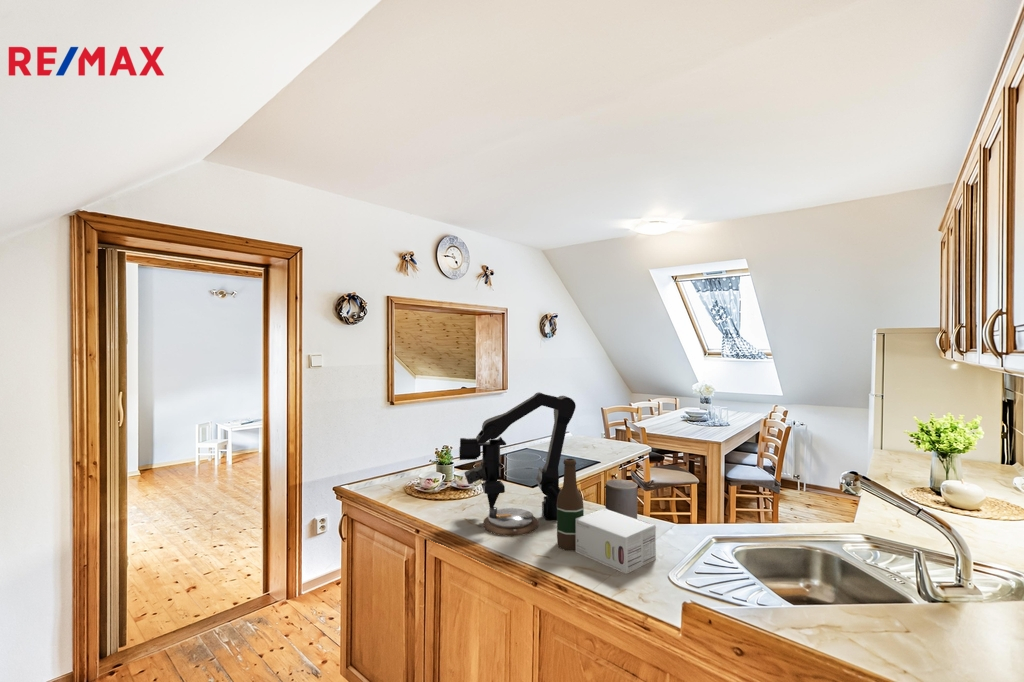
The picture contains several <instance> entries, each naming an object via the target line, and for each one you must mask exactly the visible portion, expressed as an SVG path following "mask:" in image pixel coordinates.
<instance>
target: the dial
mask: <svg viewBox="0 0 1024 682" xmlns="http://www.w3.org/2000/svg"><path fill="white" fill-rule="evenodd" d="M533 516H534V514H533V513H532V512H531V511H529V510H526V509H523V508H514V507H509V508H507V507H506V508H499V509H498V507H496V506H494V507H489V514H488V515H487V517H488V522H489V523H490V524H491V525H493V526H495V527H499V528H506V529H515V528H522V527H526V526H529V525H530V524H532V523H533Z"/></svg>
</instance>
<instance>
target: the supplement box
mask: <svg viewBox="0 0 1024 682" xmlns="http://www.w3.org/2000/svg"><path fill="white" fill-rule="evenodd" d="M656 528H657V525H656V524H653V523H649V522H647V521H644V520H641V519H638V518H637V519H635V518H632V517H629V516H626V515H623V514H620V513H617V512H614V511H611V510H608V509H606V508H601V509H598V510H597V511H594V512H591V513H587V514H585V515H584V516H581V517H578V518H576V551H574V552H575V553H577V554H579V555H582V556H583V557H586V558H589V559H591V560H593V561H596V562H597V563H600V564H603V565H604V566H607V567H610V568H611V569H614V570H617V571H619V572H621V573H623V574H625V575H626V574H629V573H631V572H632V571H635V570H637V569H639V568H641V567H643V566H645V565H647V564H649V563H651V562H653V561H655V560H656V559H657V557H656V556H657V553H656V552H657V549H656V547H657V544H656V543H657V542H656V540H657V539H656V537H657V535H656V534H657V533H656V531H657V529H656Z"/></svg>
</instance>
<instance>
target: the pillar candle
mask: <svg viewBox="0 0 1024 682" xmlns="http://www.w3.org/2000/svg"><path fill="white" fill-rule="evenodd" d="M638 486H639V485H638V483H636V482H634V481H632V480H627V479H622V478H620V479H617V478H616V479H615V478H614V479H609V480H607V481H606V482H605V493H604V495H605V501H604V502H605V505H604V506H605V508H604V509H608V510H611V511H614V512H617V513H620V514H623V515H626V516H629V517H632V518H635V519H638Z"/></svg>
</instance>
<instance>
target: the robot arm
mask: <svg viewBox="0 0 1024 682" xmlns="http://www.w3.org/2000/svg"><path fill="white" fill-rule="evenodd" d="M542 406H543V407H546V408H549V409H553V421H554V423H553V427H552V430H551V431H552V432H551V437H550V440H549V446H548V451H547V456H546V460H545V464H544V466H543V467H542V468H541V467H538V469H537V470H538V471H537V476H536V478H535V479H536V481H537V487H538V488H539V490H540V491H541V492H542V494H543V495H545V496H543V501H542V502H541V514H542V516H543V517H544V519H545V520H546V521H557V497H558V495H559V492H560V491H561V489H562V488H560V487H559V486H560V475H559V467H560V460H561V456H562V451H563V447H564V442H565V436H566V432H567V427H568V425H569V423H570V422H571V420H572V418H573V416H574V413H575V411H576V406H577V405H576V402H575V400H574V399H572V398H570V397H569V396H566V395H559V396H555V395H551V394H550V395H549V394H545V393H543V392H539V391H538V392H536V393H534V395H532V396H531V397H528V399H526V400H523V401H522V402H520V403H519V404H517V405H516V406H514V407H513V408H511V409H509V410H507V411H506V412H504V413H502V414H498V415H495V416H493V417H492V416H491V417H489V418H487V419H485V420H484V421H483V422H482V424H481V430H480V431H479V432H478V434H477V435H476V438H475V437H473V438H471V437H470V438H466V437H460V439H459V448H458V449H459V450H458V451H459V452H458V454H459V455H458V456H459V461H472V460H473V461H474V460H478V459H479V457H482V460H481V462H480V465H479V466H476V467H473V468H470V469H469V470H465V471H464V476H465V478H466V479H465V480H466V483H467V484H468V485H472V484H473V483H475V482H479V481H482V483H481V484H480V485H481V488H482V490H483V493H484V494H486V496H487V501H488V505H489V506H488V507H489V508H490V507H495V504H496V502H497V501H498V498H499V495H500V494H504V493H505V492H506V491H505V489H506V488H505V487H506V486H505V483H503V481H501V480H502V475H501V468H502V462H501V446H507V442H506V441H505V440H504V439H503V438H502V436H501V435H502V434H503V433H504V432H506V430H508V428H509V427H511V425H513V424H514V423H516V422H517V421H519V420H521V419H522V418H523V417H525V416H528V415H529V414H530V413H532V412H534V411H535V410H537V409H538V408H540V407H542ZM481 447H482V449H481ZM481 452H482V456H481Z"/></svg>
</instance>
